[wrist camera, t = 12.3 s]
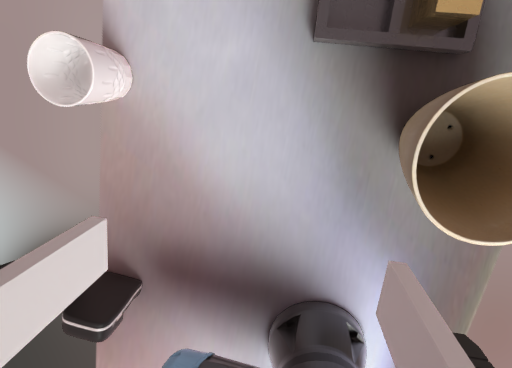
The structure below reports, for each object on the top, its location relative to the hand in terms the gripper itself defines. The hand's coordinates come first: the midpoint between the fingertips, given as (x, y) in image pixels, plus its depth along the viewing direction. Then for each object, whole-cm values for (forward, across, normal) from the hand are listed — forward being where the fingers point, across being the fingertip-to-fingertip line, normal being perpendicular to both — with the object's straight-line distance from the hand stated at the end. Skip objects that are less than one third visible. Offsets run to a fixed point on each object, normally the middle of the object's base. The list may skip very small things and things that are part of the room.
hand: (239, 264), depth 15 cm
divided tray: (+31, -12, -19) cm, 38 cm away
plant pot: (+32, -20, -4) cm, 38 cm away
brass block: (+31, -16, -19) cm, 39 cm away
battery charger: (+32, +23, +25) cm, 47 cm away
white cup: (+32, +24, -8) cm, 41 cm away
